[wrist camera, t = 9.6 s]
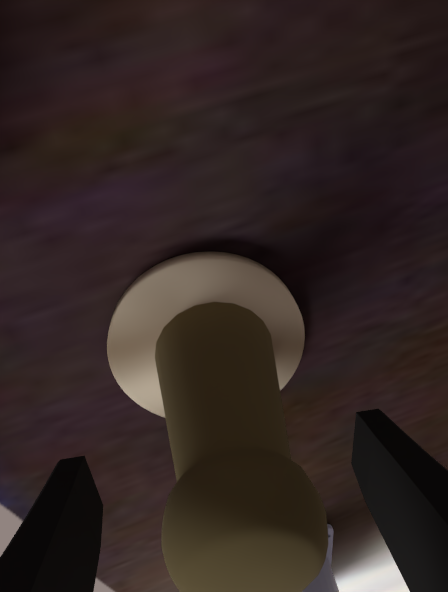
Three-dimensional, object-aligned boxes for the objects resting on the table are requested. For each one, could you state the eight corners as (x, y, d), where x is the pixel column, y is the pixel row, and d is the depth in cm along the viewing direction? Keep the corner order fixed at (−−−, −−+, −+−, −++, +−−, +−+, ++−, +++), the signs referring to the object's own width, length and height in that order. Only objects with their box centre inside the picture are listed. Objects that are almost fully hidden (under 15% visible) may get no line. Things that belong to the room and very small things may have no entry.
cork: (276, 298, 20) (377, 508, 10) (269, 393, 23) (343, 626, 13) (149, 305, 19) (134, 537, 10) (159, 402, 22) (154, 654, 13)
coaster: (299, 395, 25) (304, 407, 24) (130, 421, 24) (129, 435, 23) (299, 238, 20) (305, 246, 19) (87, 266, 19) (84, 275, 18)
